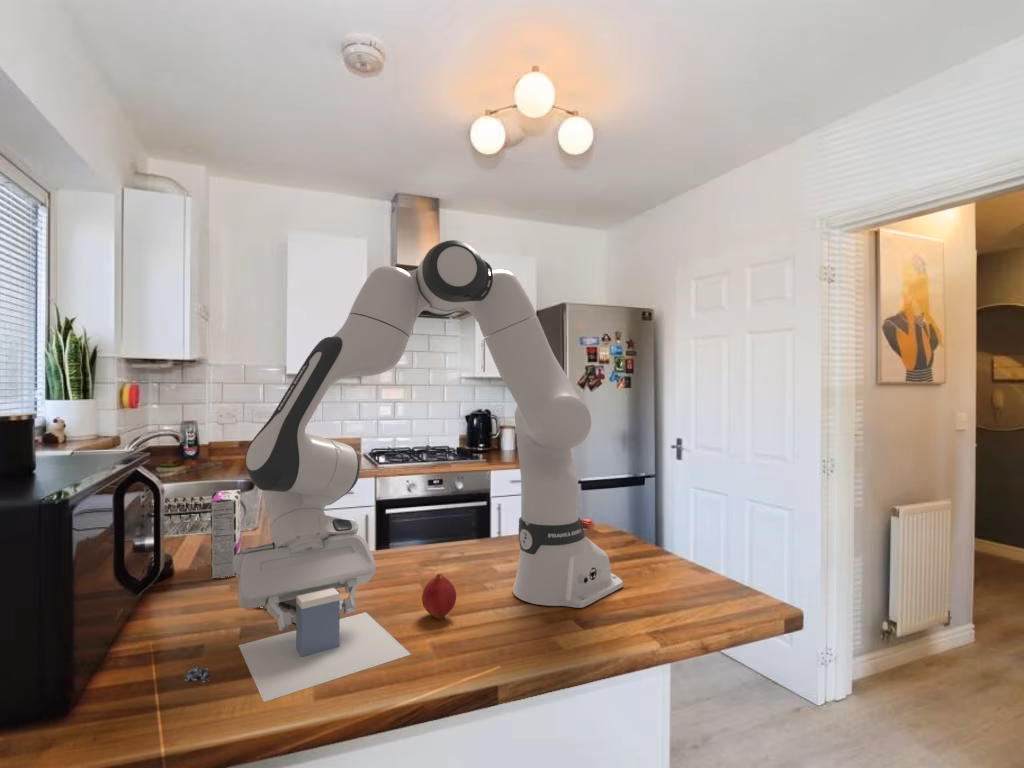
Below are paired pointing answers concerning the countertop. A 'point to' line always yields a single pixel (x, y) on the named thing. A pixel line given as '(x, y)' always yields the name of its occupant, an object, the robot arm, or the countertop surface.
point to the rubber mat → (318, 657)
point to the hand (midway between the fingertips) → (319, 619)
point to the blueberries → (197, 674)
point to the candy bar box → (225, 532)
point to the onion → (439, 596)
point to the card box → (317, 621)
